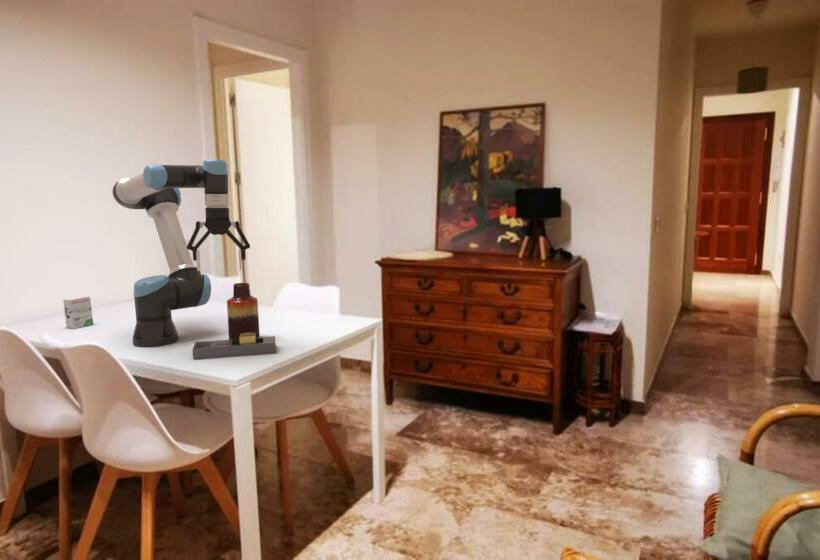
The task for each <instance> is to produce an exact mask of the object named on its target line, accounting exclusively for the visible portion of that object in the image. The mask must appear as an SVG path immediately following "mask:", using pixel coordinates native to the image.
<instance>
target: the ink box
mask: <svg viewBox="0 0 820 560" xmlns="http://www.w3.org/2000/svg"><path fill="white" fill-rule="evenodd" d="M63 310H64V317H65V324H66V325H65V326H66V328H67V329H71V330H74V329H79V328H83V327H88V326H92V325H94V320H93V319H94V318H93V310H92V300H91V297H90V296H77V297H71V298H65V299H63Z"/></svg>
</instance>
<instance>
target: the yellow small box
mask: <svg viewBox="0 0 820 560" xmlns="http://www.w3.org/2000/svg"><path fill="white" fill-rule="evenodd" d="M239 338H240V344H254V343H256V333H251V332H245V333H240V337H239Z"/></svg>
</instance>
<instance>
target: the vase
mask: <svg viewBox="0 0 820 560" xmlns="http://www.w3.org/2000/svg"><path fill="white" fill-rule="evenodd" d="M250 287H251V286H250V283H248V282H237V283H234V284H233V287H232V288H233V291H232V293H233V294H232V296H231V297H230V298H228V299H227V300H226V311H227V312H226V313H227V315H226V316H227V326H228V327H227V328H228V330H227V331H228V340H229V339H240V338H239V337H240V333H245V332H251V333H256V338H258V337H260V319H259V304H258V303H259V300H258V298H257V297H255V296H252V295H251V294H252V293H251V289H250Z"/></svg>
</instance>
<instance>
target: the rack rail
mask: <svg viewBox="0 0 820 560" xmlns="http://www.w3.org/2000/svg"><path fill="white" fill-rule="evenodd" d="M276 345H277V344H276V335H274V336H262V337H258V338H256V343H254V344H240V339H229V338H228V339H219V340H215V339H214V340H202V341H195V343H194V345H193V347H192V360H204V359H215V358H228V357H229V358H230V357H231V358H232V357H241V356H242V357H243V356H254V355H255V356H256V355H258V356H259V355H268V354H277V349H276V348H277V347H276Z"/></svg>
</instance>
